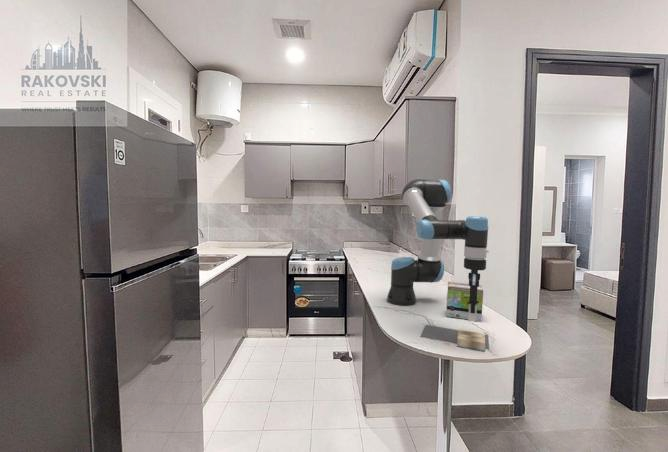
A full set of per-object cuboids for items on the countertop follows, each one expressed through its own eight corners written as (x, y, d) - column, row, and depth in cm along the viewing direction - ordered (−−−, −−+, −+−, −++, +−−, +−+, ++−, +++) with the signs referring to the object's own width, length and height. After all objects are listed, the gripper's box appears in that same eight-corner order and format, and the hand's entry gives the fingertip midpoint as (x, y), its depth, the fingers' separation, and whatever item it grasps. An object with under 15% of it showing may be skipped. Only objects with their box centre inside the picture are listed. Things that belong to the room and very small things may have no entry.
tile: (458, 337, 123) (457, 346, 114) (458, 329, 122) (457, 338, 114) (484, 341, 119) (484, 351, 111) (484, 333, 119) (485, 343, 110)
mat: (419, 338, 122) (420, 336, 122) (425, 325, 135) (425, 324, 135) (489, 351, 112) (489, 349, 112) (488, 336, 125) (488, 335, 125)
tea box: (446, 317, 146) (447, 285, 145) (446, 310, 156) (447, 281, 155) (482, 322, 141) (483, 289, 140) (480, 314, 150) (481, 284, 149)
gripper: (486, 261, 110) (483, 328, 111) (486, 256, 122) (483, 316, 123) (463, 259, 113) (460, 324, 114) (464, 255, 125) (462, 313, 126)
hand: (472, 320), depth 119 cm, fingers closed
